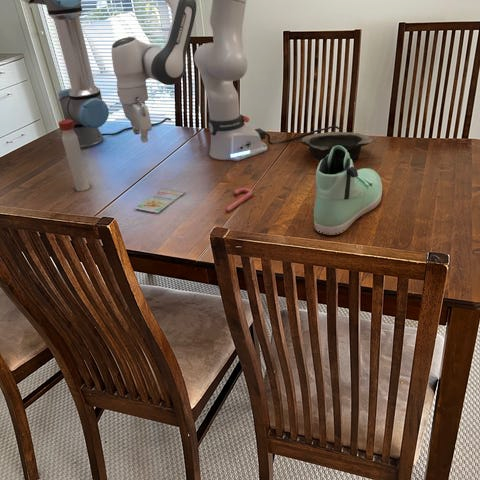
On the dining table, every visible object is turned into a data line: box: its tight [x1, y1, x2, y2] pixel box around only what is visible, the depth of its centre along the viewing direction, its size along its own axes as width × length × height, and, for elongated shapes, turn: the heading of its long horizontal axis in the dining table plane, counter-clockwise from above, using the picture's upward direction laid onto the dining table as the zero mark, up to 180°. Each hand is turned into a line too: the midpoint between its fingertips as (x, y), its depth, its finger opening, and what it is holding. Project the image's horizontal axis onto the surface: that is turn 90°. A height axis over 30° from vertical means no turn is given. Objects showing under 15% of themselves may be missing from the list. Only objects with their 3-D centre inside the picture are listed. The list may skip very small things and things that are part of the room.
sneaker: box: [313, 146, 383, 236], centre depth 133 cm, size 14×35×20 cm, turn 152°
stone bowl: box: [300, 131, 374, 164], centre depth 169 cm, size 25×25×9 cm
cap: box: [57, 119, 74, 132], centre depth 153 cm, size 4×4×2 cm
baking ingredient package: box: [134, 188, 184, 214], centre depth 151 cm, size 9×1×15 cm
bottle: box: [61, 129, 91, 192], centre depth 159 cm, size 5×5×23 cm
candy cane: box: [224, 187, 254, 213], centre depth 147 cm, size 6×15×2 cm, turn 145°
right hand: (140, 137), depth 156 cm, fingers open, 8 cm apart
